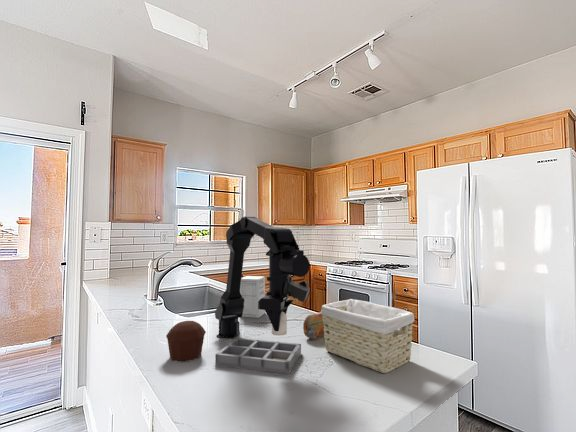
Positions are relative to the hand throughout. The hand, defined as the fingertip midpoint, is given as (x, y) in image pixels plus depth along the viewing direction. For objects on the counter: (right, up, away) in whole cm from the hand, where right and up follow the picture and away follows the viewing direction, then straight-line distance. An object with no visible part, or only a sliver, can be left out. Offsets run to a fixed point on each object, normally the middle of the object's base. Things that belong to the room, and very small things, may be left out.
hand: (279, 328), depth 90 cm
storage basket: (+26, -11, +7) cm, 29 cm away
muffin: (-28, -11, +7) cm, 31 cm away
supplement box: (-13, -13, +55) cm, 58 cm away
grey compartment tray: (-6, -11, +4) cm, 13 cm away
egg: (0, -1, 0) cm, 1 cm away
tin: (+14, -12, +26) cm, 31 cm away
